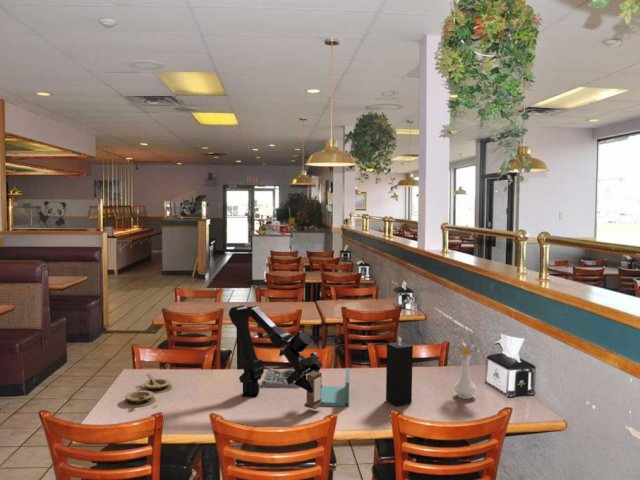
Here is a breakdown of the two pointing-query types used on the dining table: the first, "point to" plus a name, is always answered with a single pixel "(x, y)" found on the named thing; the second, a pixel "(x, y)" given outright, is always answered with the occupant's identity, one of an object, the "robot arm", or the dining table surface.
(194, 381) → the dining table surface
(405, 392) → the black square bottle
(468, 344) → the flower vase
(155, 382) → the tableware set
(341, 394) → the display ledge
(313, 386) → the photo frame
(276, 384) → the wall plaque
